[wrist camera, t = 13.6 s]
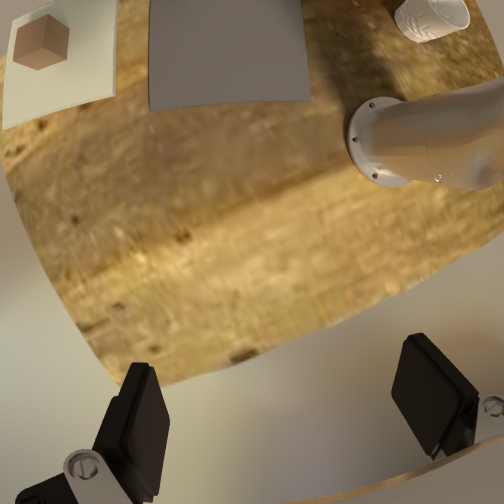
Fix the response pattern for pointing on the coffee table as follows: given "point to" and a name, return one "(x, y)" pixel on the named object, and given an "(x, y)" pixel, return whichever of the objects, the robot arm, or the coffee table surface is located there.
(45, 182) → the coffee table surface
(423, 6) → the white cup
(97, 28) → the lid sheet
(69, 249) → the coffee table surface
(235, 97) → the mat
